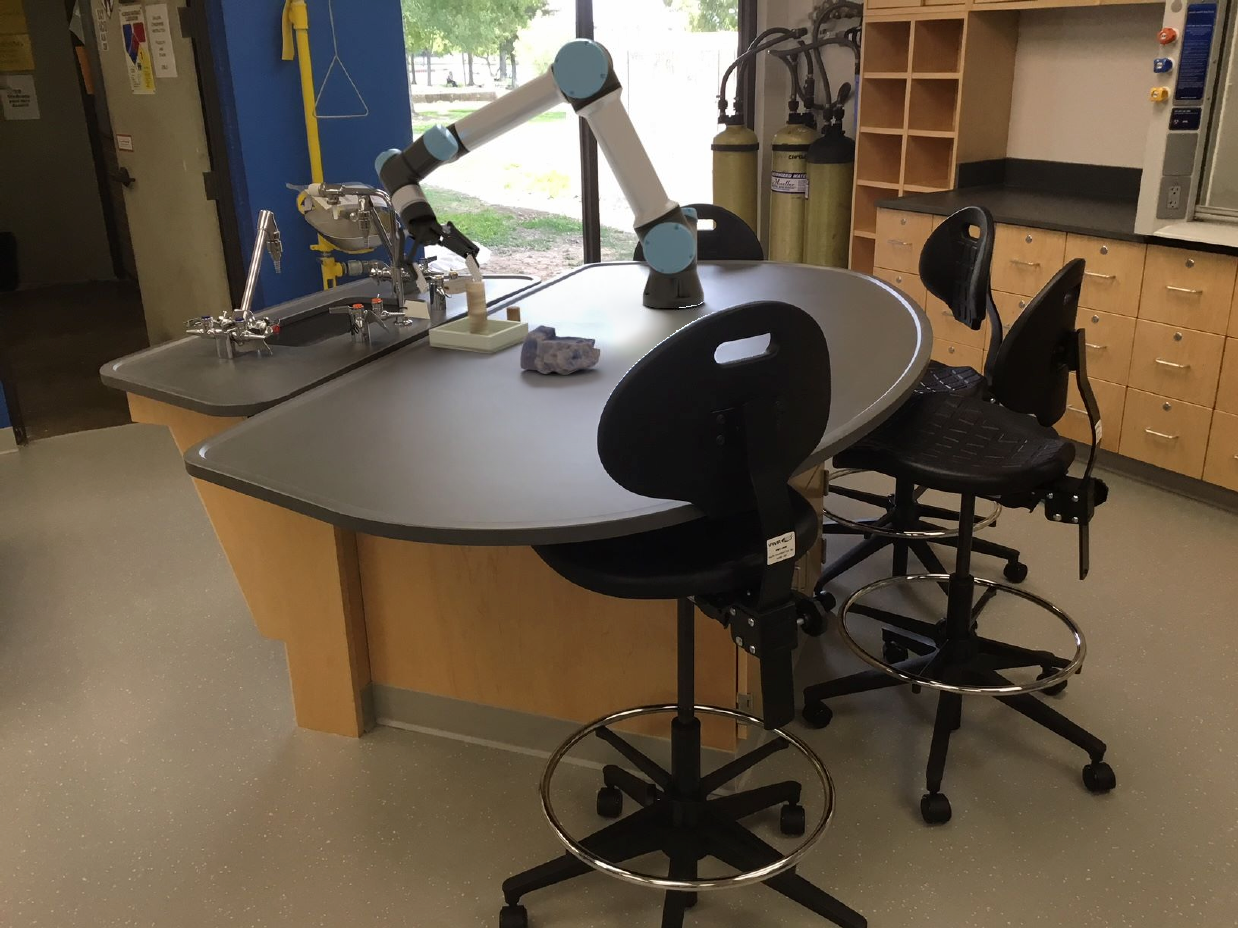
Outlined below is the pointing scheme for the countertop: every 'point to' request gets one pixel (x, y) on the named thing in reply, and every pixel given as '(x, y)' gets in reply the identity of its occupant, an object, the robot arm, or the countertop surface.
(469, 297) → the dowel
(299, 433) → the countertop surface
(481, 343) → the tray
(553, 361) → the mineral
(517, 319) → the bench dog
